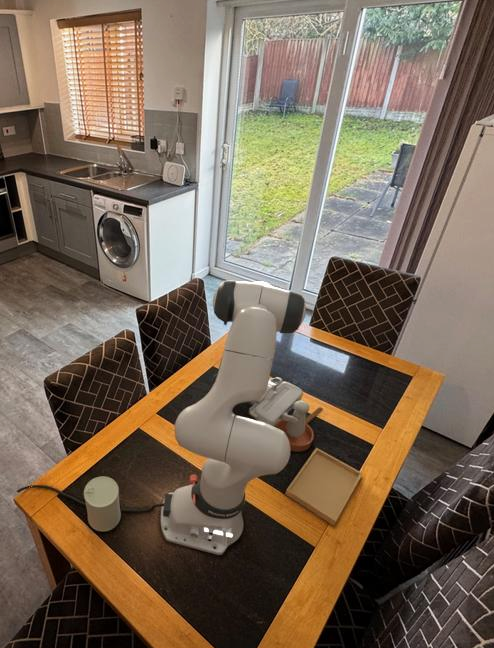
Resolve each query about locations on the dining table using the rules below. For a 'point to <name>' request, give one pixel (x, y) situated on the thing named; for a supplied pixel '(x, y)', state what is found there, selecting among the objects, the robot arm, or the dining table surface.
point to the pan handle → (313, 415)
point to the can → (102, 503)
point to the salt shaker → (300, 413)
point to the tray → (324, 485)
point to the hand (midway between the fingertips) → (301, 417)
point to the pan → (297, 442)
